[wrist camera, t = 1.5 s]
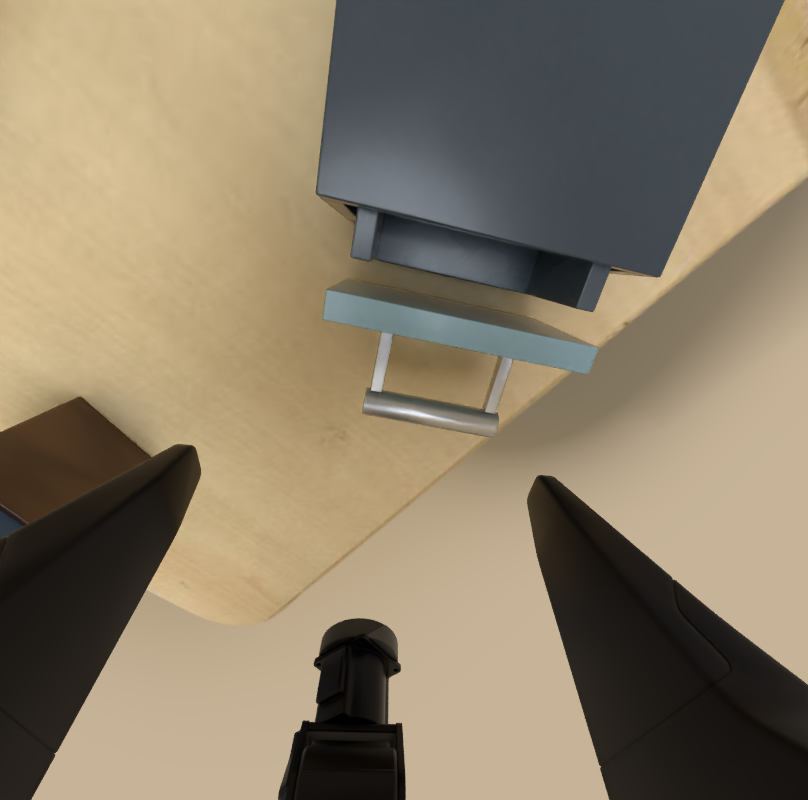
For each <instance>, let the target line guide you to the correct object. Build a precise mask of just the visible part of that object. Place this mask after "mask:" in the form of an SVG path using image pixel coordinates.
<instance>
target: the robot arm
mask: <svg viewBox="0 0 808 800" xmlns="http://www.w3.org/2000/svg"><path fill="white" fill-rule="evenodd" d="M200 476H201V467H200V463H199V459H198V455H197V450H196V448H195V447H194V446H192V445H183V444H177V445H174V446H172V447H170V448H168V449H166V450H164V451H163V452H161V453H159V454H157V455H155V456H153V457H151V458H150V459H148V460H146V461H144V462H142V463H140V464H138V465H137V466H135V467H133V468H131V469H129V470H127V471H125V472H124V473H122V474H120V475H118V476H116V477H114V478H112V479H111V480H109V481H107V482H105V483H103V484H101V485H99V486H98V487H96V488H94V489H92V490H90V491H88V492H86V493H84V494H83V495H81V496H79V497H77V498H75V499H73V500H71V501H70V502H68V503H66V504H64V505H62V506H60V507H58V508H57V509H55V510H53V511H51V512H49V513H47V514H45V515H44V516H42V517H40V518H38V519H36V520H34V521H32V522H30V523H29V524H27V525H25V526H23V527H21V528H19V529H17V530H16V531H14V532H12V533H10V534H9V536H8V537H7V536H5V537H2V538H1V539H0V800H31V799H32V797H33V795H34V794H35V792H36V790H37V788H38V786H39V784H40V783H41V780H42V779H43V777H44V775H45V773H46V772H47V770H48V768H49V766H50V764H51V762H52V761H53V759H54V757H55V754H54V753H56V752H57V751H58V749H59V747H60V746H61V744H62V742H63V740H64V738H65V736H66V735H67V733H68V731H69V729H70V727H71V725H72V724H73V722H74V720H75V718H76V716H77V715H78V713H79V711H80V709H81V707H82V705H83V704H84V702H85V700H86V698H87V696H88V694H89V693H90V691H91V689H92V687H93V685H94V684H95V682H96V680H97V678H98V676H99V675H100V672H101V671H102V669H103V667H104V665H105V664H106V662H107V660H108V658H109V656H110V654H111V653H112V651H113V649H114V647H115V645H116V643H117V642H118V640H119V638H120V636H121V634H122V632H123V631H124V629H125V627H126V625H127V624H128V622H129V620H130V618H131V616H132V614H133V613H134V611H135V609H136V607H137V605H138V603H139V601H140V600H141V598H142V596H143V594H144V593H145V591H146V589H147V587H148V585H149V583H150V582H151V580H152V578H153V576H154V574H155V573H156V571H157V569H158V567H159V565H160V563H161V562H162V560H163V558H164V556H165V554H166V552H167V551H168V549H169V547H170V545H171V543H172V542H173V540H174V538H175V536H176V534H177V532H178V530H179V527H180V525H181V523H182V520H183V518H184V516H185V513H186V511H187V508H188V506H189V503H190V501H191V499H192V496H193V494H194V491H195V489H196V486H197V484H198V482H199V479H200ZM527 504H528V510H529V516H530V521H531V526H532V532H533V537H534V543H535V548H536V553H537V557H538V561H539V565H540V568H541V572H542V575H543V578H544V582H545V585H546V588H547V591H548V595H549V598H550V602H551V605H552V608H553V612H554V615H555V619H556V622H557V625H558V629H559V632H560V635H561V639H562V642H563V645H564V649H565V652H566V655H567V658H568V662H569V665H570V668H571V672H572V675H573V678H574V682H575V685H576V689H577V692H578V695H579V699H580V702H581V705H582V709H583V712H584V715H585V719H586V722H587V726H588V729H589V732H590V735H591V738H592V742H593V746H594V749H595V752H596V756H597V758H598V762H599V765H600V766H601V768H600V770H601V773H602V776H603V780H604V783H605V787H606V790H607V793H608V796H609V800H808V685H807V684H806V683H805V682H804V681H802V680H801V679H800V678H798V677H797V676H796V675H794V674H793V673H792V672H790V671H789V670H788V669H787V668H785V667H784V666H782V665H781V664H780V663H779V662H777V661H776V660H775V659H773V658H772V657H771V656H770V655H768V654H767V653H766V652H764V651H763V650H762V649H760V648H759V647H758V646H756V645H755V644H753V642H751V641H750V640H749V639H747V638H746V637H745V636H743V635H742V634H741V633H739V632H738V631H737V630H736V629H734V628H733V627H732V626H731V625H729V624H728V623H727V622H725V621H724V620H723V619H722V618H720V617H719V616H718V615H717V614H715V613H714V612H713V611H712V610H710V609H709V608H708V607H707V606H706V605H704V604H703V603H702V602H701V601H700V600H698V599H697V598H696V597H695V596H694V595H692V594H691V593H690V592H689V591H688V590H686V589H685V588H684V587H683V586H682V585H681V584H679V583H678V582H677V581H676V580H673V579H672V577H671V576H670V575H669V574H667V573H666V572H665V571H664V570H663V569H662V568H660V567H659V566H658V565H657V564H656V563H655V562H653V561H652V560H651V559H650V558H649V557H648V556H646V555H645V554H644V553H643V552H641V551H640V550H639V549H638V548H637V547H636V546H634V545H633V544H632V543H631V542H630V541H629V540H628V539H626V538H625V537H624V536H623V535H622V534H620V533H619V532H618V531H617V530H616V529H615V528H613V527H612V526H611V525H610V524H609V523H608V522H606V521H605V520H604V519H603V518H602V517H601V516H599V515H598V514H597V513H596V512H595V511H594V510H592V509H591V508H590V507H589V506H588V505H586V504H585V503H584V502H583V501H582V500H581V499H579V498H578V497H577V496H576V495H575V494H574V493H572V492H571V491H570V490H569V489H568V488H566V487H565V486H564V485H563V484H562V483H560V482H559V481H558V480H557V479H556V478H555V477H552V476H544V475H539V476H537V477H536V479H535V481H534V483H533V486H532V488H531V490H530V492H529V495H528V499H527ZM314 666H315V667H316V668H318V669H319V670H320V671H321V674H320V680H319V686H318V692H317V698H316V703H317V704H318V707H317V714H316V719H315V722H309V721H303V722H302V726H301V730H300V731H298V732H296V733H295V735H294V739H293V744H292V749H291V754H290V758H289V761H288V765H287V768H286V771H285V774H284V777H283V781H282V783H281V786H280V790H279V796H278V800H405V798H406V797H405V796H406V795H405V791H406V790H405V789H406V787H405V764H404V748H403V732H402V723H396V724H388V682H389V677H391V676H393V675H395V674H397V673H399V672H400V671H401V666H400V664H399V663H398V662H397V661H396V660H395V659H393V658H392V657H391V656H390V655H389V654H388V653H387V652H385V651H384V650H383V649H382V648H381V647H380V646H378V645H377V644H376V643H375V642H374V641H373V640H372V639H370V638H369V637H368V636H367V635H365V634H359V635H357V636H355V637H354V638H352V639H350V640H348V641H346V642H344V643H342V644H341V645H339V646H337V647H335V648H333V649H331V650H330V651H328V652H326V653H324V654H322V655H320V656H318V657H317V658H315V660H314Z"/></svg>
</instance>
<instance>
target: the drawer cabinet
mask: <svg viewBox="0 0 808 800" xmlns="http://www.w3.org/2000/svg"><path fill="white" fill-rule="evenodd" d="M784 1H785V0H337V1H336V10H335V19H334V28H333V38H332V47H331V56H330V65H329V75H328V84H327V93H326V102H325V112H324V121H323V130H322V139H321V149H320V158H319V167H318V176H317V186H316V194H317V195H318V196H319V197H320V198H321V199H322V200H324V201H325V202H326V203H328V204H329V205H330V206H331V207H333V208H334V209H335V210H336V211H338V212H339V213H340V214H341V215H343V216H344V217H345V218H347V219H348V220H351V221H356V215H357V208H358V207H360V208H364V209H368V210H372V211H377V212H381V213H385V214H389V215H393V216H397V217H401V218H406V219H410V220H414V221H418V222H422V223H426V224H431V225H435V226H439V227H443V228H447V229H451V230H455V231H460V232H464V233H468V234H472V235H476V236H480V237H484V238H489V239H493V240H497V241H501V242H505V243H509V244H514V245H518V246H522V247H526V248H530V249H534V250H538V251H543V252H547V253H551V254H555V255H559V256H563V257H567V258H572V259H576V260H580V261H584V262H588V263H592V264H597V265H601V266H605V267H609V268H611V269H610V272H609V273H610V274H622V275H634V276H647V277H660V276H661V274H662V272H663V270H664V268H665V265H666V263H667V261H668V259H669V256H670V254H671V252H672V250H673V248H674V245H675V243H676V241H677V239H678V236H679V234H680V232H681V230H682V227H683V225H684V223H685V221H686V219H687V216H688V214H689V212H690V210H691V207H692V205H693V203H694V201H695V199H696V196H697V194H698V192H699V190H700V187H701V185H702V183H703V181H704V179H705V176H706V174H707V172H708V170H709V167H710V165H711V163H712V161H713V159H714V156H715V154H716V152H717V150H718V147H719V145H720V143H721V141H722V139H723V136H724V134H725V132H726V130H727V127H728V125H729V123H730V121H731V118H732V116H733V114H734V112H735V110H736V107H737V105H738V103H739V101H740V98H741V96H742V94H743V92H744V90H745V87H746V85H747V83H748V81H749V78H750V76H751V74H752V72H753V70H754V67H755V65H756V63H757V61H758V58H759V56H760V54H761V52H762V50H763V47H764V45H765V43H766V41H767V38H768V36H769V34H770V32H771V29H772V27H773V25H774V23H775V21H776V18H777V16H778V14H779V12H780V9H781V7H782V5H783V3H784Z"/></svg>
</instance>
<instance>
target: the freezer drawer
mask: <svg viewBox="0 0 808 800" xmlns="http://www.w3.org/2000/svg"><path fill="white" fill-rule="evenodd" d="M351 257H352V258H355V259H359V260H364V261H368V262H370V261H374V260H379V261H383V262H388V263H392V264H396V265H401V266H405V267H410V268H414V269H419V270H423V271H427V272H432V273H436V274H441V275H445V276H449V277H454V278H458V279H463V280H467V281H471V282H476V283H480V284H485V285H489V286H493V287H498V288H502V289H507V290H511V291H516V292H520V293H524V294H528V295H532V296H535V297H538V298H542V299H545V300H549V301H552V302H556V303H559V304H563V305H566V306H569V307H573V308H576V309H581V310H585V311H590V312H594V310H595V307H596V305H597V302H598V300H599V297H600V295H601V292H602V290H603V287H604V285H605V282H606V280H607V277H608V274H609V272H610V269H611V268H609V267H605V266H601V265H597V264H592V263H588V262H584V261H580V260H576V259H572V258H567V257H563V256H559V255H555V254H551V253H547V252H543V251H538V250H534V249H530V248H526V247H522V246H518V245H514V244H509V243H505V242H501V241H497V240H493V239H489V238H484V237H480V236H476V235H472V234H468V233H464V232H460V231H455V230H451V229H447V228H443V227H439V226H435V225H431V224H426V223H422V222H418V221H414V220H410V219H406V218H401V217H397V216H393V215H389V214H385V213H381V212H377V211H372V210H368V209H364V208H360V207H358V208H357V215H356V221H355V228H354V235H353V242H352V249H351ZM323 320H326V321H331V322H336V323H341V324H346V325H351V326H356V327H360V328H365V329H370V330H375V331H380V332H381V336H380V341H379V346H378V352H377V357H376V362H375V367H374V373H373V378H372V383H371V388H368V387H367V388H366V394H365V399H364V404H363V410H362V414H365V415H370V416H376V417H381V418H387V419H392V420H398V421H403V422H409V423H414V424H420V425H425V426H431V427H436V428H442V429H447V430H453V431H459V432H464V433H470V434H475V435H481V436H486V437H493V436H494V435H495V433H496V431H497V428H498V422H499V417H498V413H497V412H496V410H497V407H498V404H499V401H500V398H501V395H502V392H503V389H504V386H505V383H506V380H507V377H508V374H509V371H510V368H511V365H512V362H513V359H516V360H520V361H525V362H530V363H535V364H540V365H545V366H550V367H554V368H559V369H564V370H569V371H574V372H579V373H584V374H588V372H589V370H590V368H591V366H592V363H593V361H594V358H595V356H596V354H597V351H598V349H599V348H598V347H596V346H594V345H592V344H589V343H587V342H585V341H583V340H580V339H578V338H576V337H574V336H572V335H569V334H567V333H565V332H563V331H560V330H558V329H556V328H554V327H551V326H549V325H547V324H545V323H543V322H540V321H538V320H536V319H532V318H528V317H523V316H519V315H514V314H510V313H505V312H501V311H496V310H491V309H487V308H482V307H478V306H473V305H469V304H464V303H460V302H455V301H450V300H446V299H441V298H437V297H432V296H428V295H423V294H419V293H414V292H410V291H405V290H400V289H396V288H391V287H387V286H382V285H378V284H373V283H369V282H364V281H359V280H355V279H350V278H348V279H346V280H344V281H342V282H340V283H338V284H336V285H334V286H332V287H330V288H328V289H327V290H326V295H325V303H324V311H323ZM394 335H399V336H404V337H409V338H414V339H419V340H423V341H428V342H433V343H438V344H443V345H448V346H453V347H457V348H462V349H467V350H472V351H477V352H482V353H486V354H491V355H496V356H499V357H498V360H497V363H496V366H495V369H494V372H493V375H492V379H491V382H490V385H489V388H488V391H487V394H486V397H485V401H484V404H483V407H482V408H483V409H479V408H474V407H469V406H463V405H458V404H453V403H447V402H442V401H437V400H432V399H426V398H421V397H416V396H410V395H405V394H400V393H395V392H389V391H384V390H383V385H384V380H385V375H386V370H387V365H388V360H389V355H390V351H391V346H392V341H393V336H394Z"/></svg>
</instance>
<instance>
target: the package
mask: <svg viewBox="0 0 808 800" xmlns="http://www.w3.org/2000/svg"><path fill="white" fill-rule="evenodd" d="M23 526H24V525H22V524H21V523H19V522H18V521H17V520H15V519H14V518H12V517H11V516H9V515H8V514H6V513H5V512H3V511H2V510H1V509H0V539H1V538H2V537H5V536H7V537H8V536H9V534H10V533H12V532H14V531H16V530H17V529H19V528H21V527H23Z"/></svg>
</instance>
